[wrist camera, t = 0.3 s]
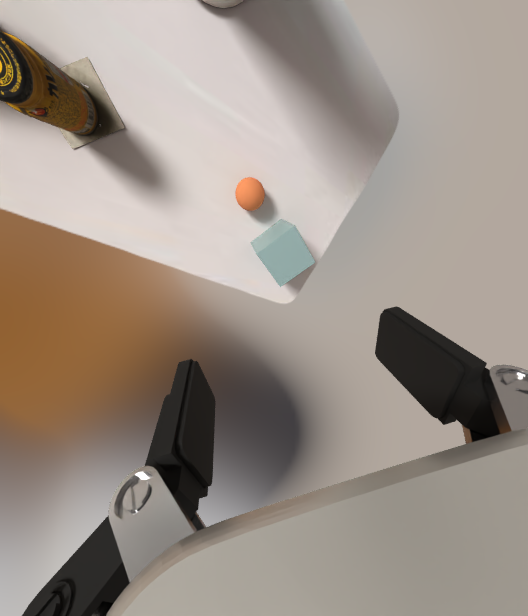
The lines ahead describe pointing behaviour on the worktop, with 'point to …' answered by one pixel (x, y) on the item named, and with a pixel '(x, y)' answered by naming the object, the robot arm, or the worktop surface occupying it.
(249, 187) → the ball
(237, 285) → the worktop surface
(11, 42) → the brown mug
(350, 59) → the worktop surface
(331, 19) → the worktop surface
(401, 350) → the robot arm
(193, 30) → the worktop surface
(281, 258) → the mint green cube
